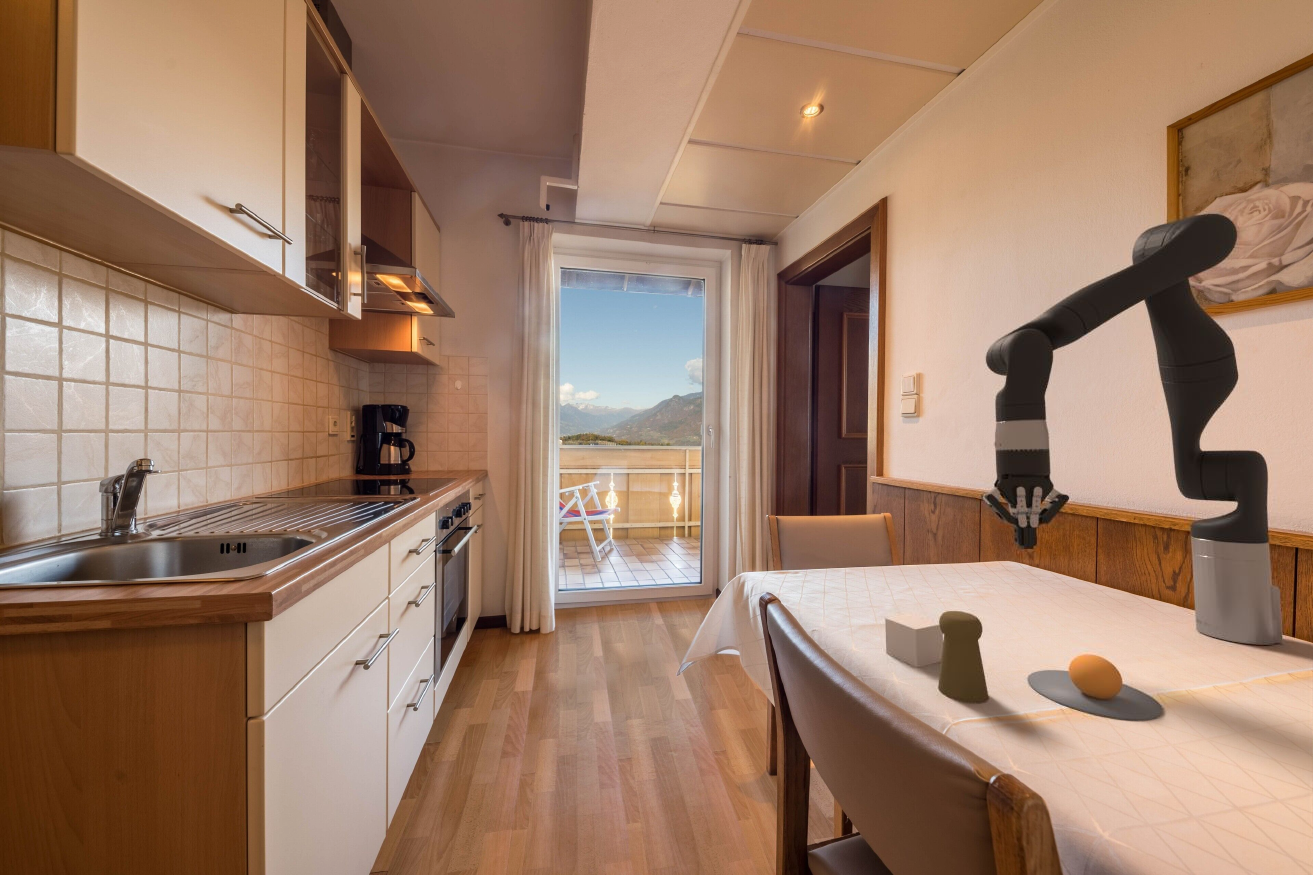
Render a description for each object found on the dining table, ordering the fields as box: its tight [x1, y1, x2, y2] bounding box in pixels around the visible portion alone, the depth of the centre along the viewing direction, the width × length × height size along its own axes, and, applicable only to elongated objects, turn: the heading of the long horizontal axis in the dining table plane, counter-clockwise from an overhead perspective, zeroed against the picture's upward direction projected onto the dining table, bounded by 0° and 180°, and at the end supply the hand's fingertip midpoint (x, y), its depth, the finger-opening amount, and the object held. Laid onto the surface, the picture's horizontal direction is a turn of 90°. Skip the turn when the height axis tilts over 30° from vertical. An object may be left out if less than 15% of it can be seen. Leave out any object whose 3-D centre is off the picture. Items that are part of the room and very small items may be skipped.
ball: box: [1068, 653, 1124, 699], centre depth 67 cm, size 6×6×6 cm
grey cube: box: [884, 613, 944, 668], centre depth 82 cm, size 6×6×6 cm
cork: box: [937, 610, 990, 704], centre depth 69 cm, size 6×6×11 cm
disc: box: [1027, 669, 1164, 721], centre depth 68 cm, size 14×14×1 cm
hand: (1026, 548), depth 85 cm, fingers closed
